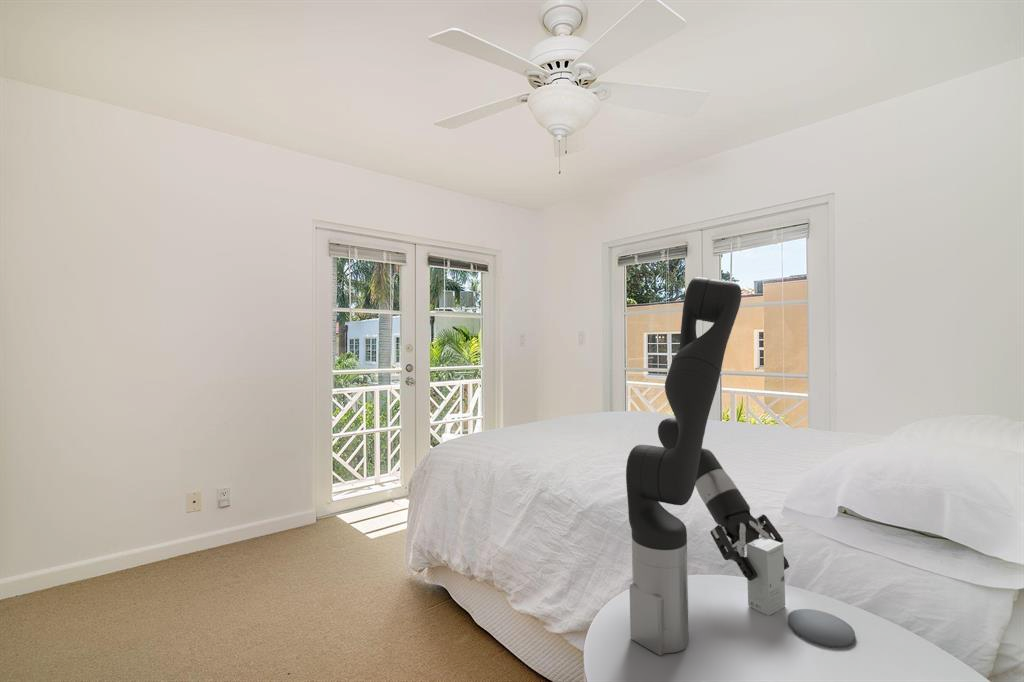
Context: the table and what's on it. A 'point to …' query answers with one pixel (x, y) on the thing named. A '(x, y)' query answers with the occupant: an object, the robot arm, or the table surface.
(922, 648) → the table surface
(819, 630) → the coaster mat
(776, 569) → the skincare box
